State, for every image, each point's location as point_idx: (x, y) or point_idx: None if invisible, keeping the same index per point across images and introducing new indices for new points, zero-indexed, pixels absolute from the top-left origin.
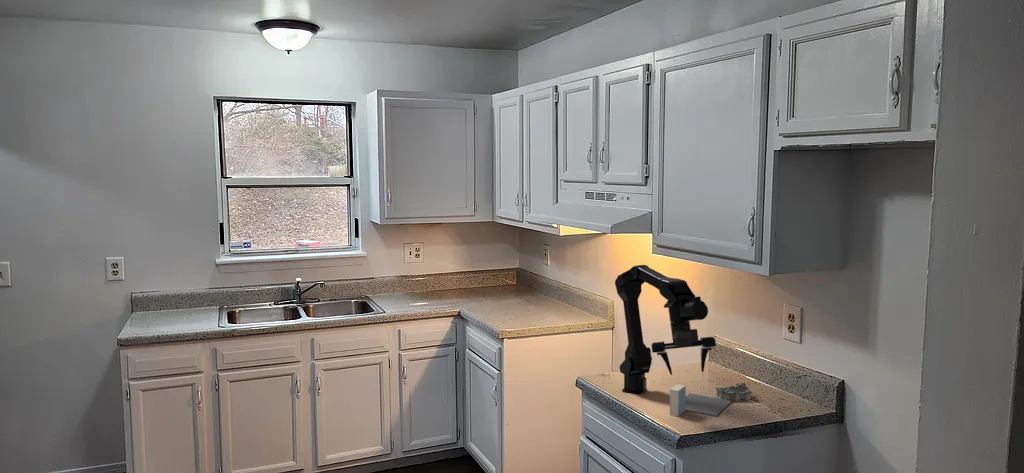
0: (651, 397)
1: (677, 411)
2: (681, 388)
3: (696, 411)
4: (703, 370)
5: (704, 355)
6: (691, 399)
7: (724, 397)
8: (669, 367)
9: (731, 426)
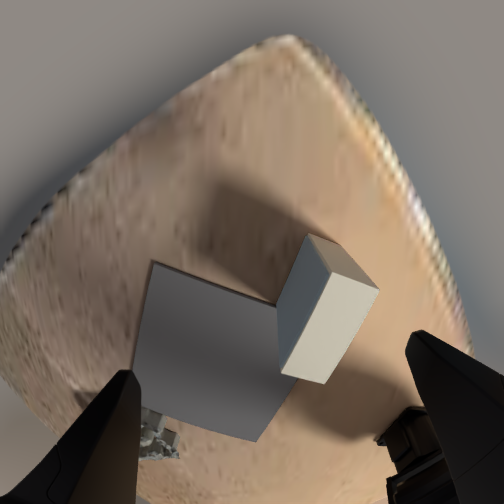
0: (378, 399)
1: (313, 239)
2: (308, 321)
3: (230, 294)
4: (113, 376)
5: (34, 494)
6: (250, 404)
7: (149, 415)
8: (464, 365)
9: (104, 167)
